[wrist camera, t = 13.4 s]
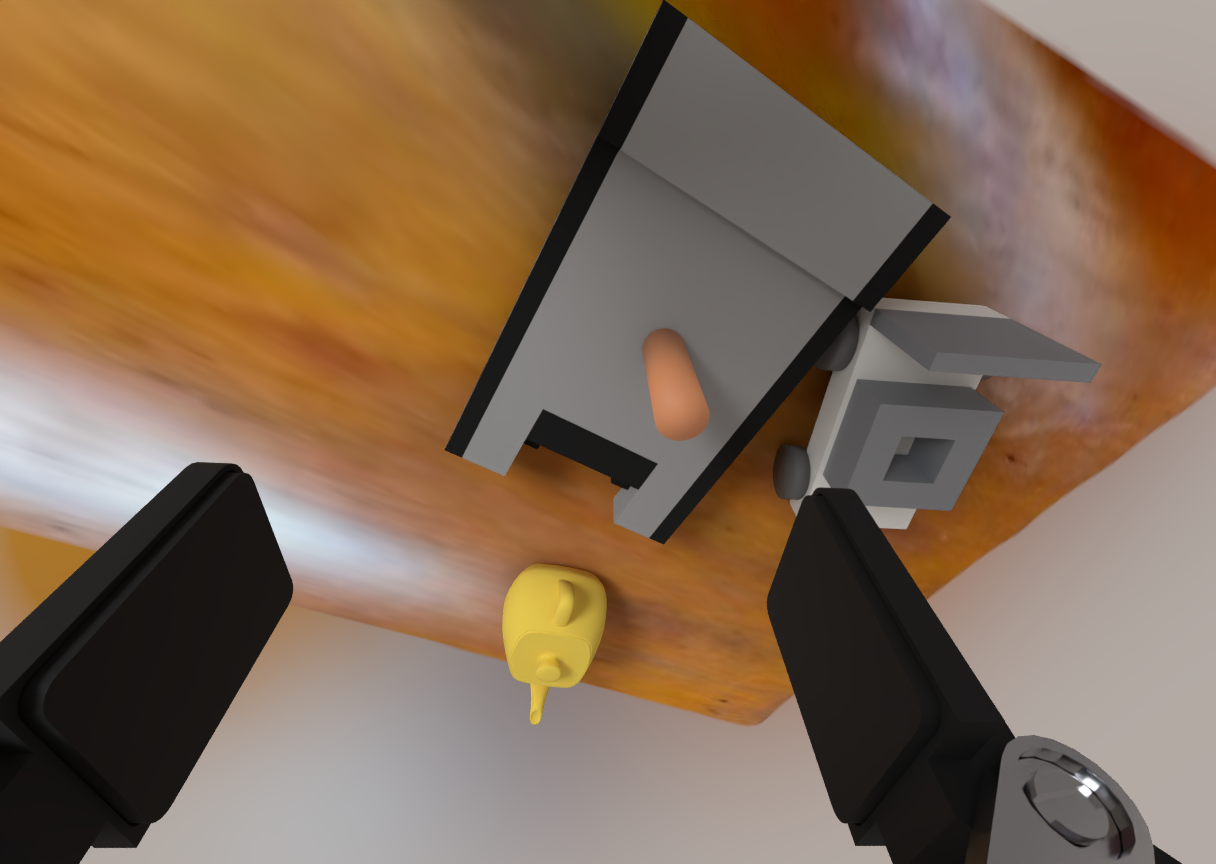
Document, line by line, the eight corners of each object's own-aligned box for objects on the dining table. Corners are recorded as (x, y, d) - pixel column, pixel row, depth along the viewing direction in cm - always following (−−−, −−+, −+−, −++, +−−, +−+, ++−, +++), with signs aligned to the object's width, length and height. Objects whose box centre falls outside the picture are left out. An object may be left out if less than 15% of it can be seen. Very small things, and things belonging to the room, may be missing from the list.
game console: (464, 408, 48) (440, 458, 41) (650, 23, 33) (663, -1, 26) (656, 496, 53) (665, 554, 46) (888, 198, 39) (951, 217, 32)
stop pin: (644, 326, 36) (658, 390, 28) (687, 330, 36) (714, 394, 28) (639, 366, 38) (651, 438, 29) (681, 369, 38) (704, 442, 29)
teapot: (585, 649, 65) (583, 736, 56) (497, 636, 64) (479, 723, 55) (622, 544, 56) (626, 629, 47) (520, 526, 55) (503, 609, 45)
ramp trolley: (826, 285, 42) (912, 350, 30) (983, 297, 42) (1125, 366, 31) (767, 485, 52) (813, 591, 41) (893, 493, 53) (975, 599, 41)
